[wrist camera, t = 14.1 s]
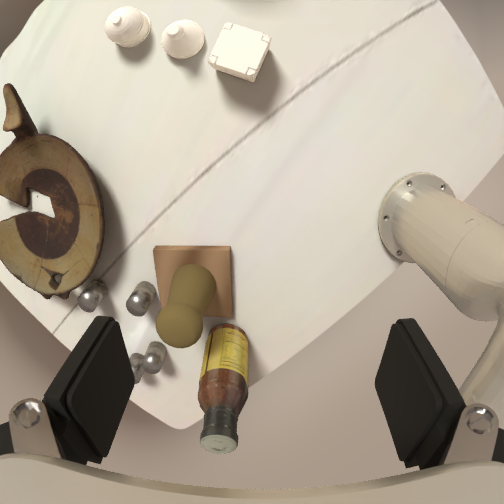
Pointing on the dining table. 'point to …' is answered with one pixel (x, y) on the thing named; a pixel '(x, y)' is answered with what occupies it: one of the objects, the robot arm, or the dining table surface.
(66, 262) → the broken ceramic bowl
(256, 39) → the container set
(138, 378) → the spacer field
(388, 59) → the dining table surface
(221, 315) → the walnut board
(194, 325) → the olive pawn
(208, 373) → the sauce bottle
